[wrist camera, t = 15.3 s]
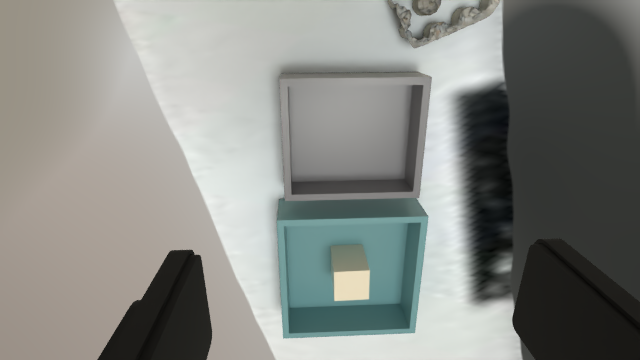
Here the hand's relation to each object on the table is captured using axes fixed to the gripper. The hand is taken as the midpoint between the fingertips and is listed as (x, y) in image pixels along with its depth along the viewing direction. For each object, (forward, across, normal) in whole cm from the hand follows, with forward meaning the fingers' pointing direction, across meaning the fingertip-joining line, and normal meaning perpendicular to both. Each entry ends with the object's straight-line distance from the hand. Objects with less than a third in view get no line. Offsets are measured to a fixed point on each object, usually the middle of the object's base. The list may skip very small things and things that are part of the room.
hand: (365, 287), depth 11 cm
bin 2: (+36, -4, +23) cm, 43 cm away
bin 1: (+36, -4, +5) cm, 37 cm away
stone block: (+35, -4, +23) cm, 42 cm away
